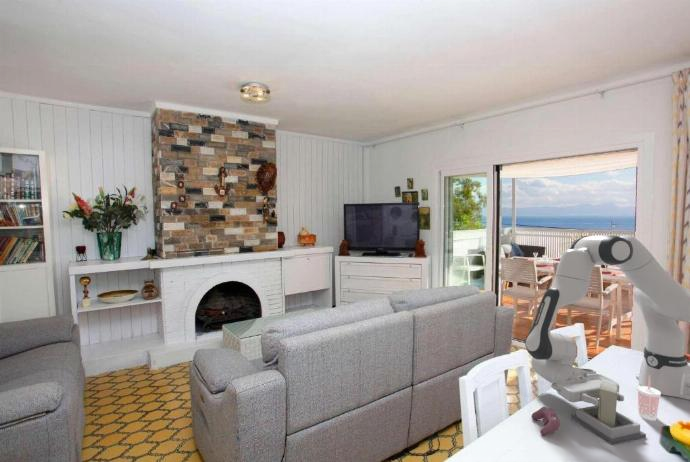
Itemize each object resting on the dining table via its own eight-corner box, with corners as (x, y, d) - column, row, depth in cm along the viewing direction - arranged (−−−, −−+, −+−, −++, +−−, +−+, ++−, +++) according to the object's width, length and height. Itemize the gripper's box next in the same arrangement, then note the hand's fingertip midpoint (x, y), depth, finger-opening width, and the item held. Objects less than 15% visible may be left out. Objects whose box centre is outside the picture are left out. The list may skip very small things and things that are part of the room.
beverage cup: (658, 414, 122) (660, 374, 121) (661, 424, 117) (663, 381, 116) (634, 409, 125) (636, 369, 124) (636, 418, 120) (638, 376, 119)
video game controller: (554, 442, 111) (566, 423, 110) (539, 434, 111) (551, 415, 110) (542, 423, 120) (553, 406, 119) (529, 416, 121) (540, 398, 120)
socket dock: (602, 412, 124) (602, 402, 124) (645, 437, 110) (646, 426, 110) (571, 418, 120) (571, 407, 120) (612, 444, 107) (612, 433, 107)
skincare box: (599, 417, 119) (600, 380, 118) (616, 422, 116) (617, 385, 116) (597, 426, 114) (598, 388, 114) (615, 431, 112) (616, 392, 111)
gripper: (548, 375, 124) (584, 395, 111) (595, 368, 130) (635, 387, 116) (547, 393, 125) (583, 415, 112) (595, 385, 130) (634, 406, 117)
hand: (610, 401), depth 114 cm, fingers open, 8 cm apart
